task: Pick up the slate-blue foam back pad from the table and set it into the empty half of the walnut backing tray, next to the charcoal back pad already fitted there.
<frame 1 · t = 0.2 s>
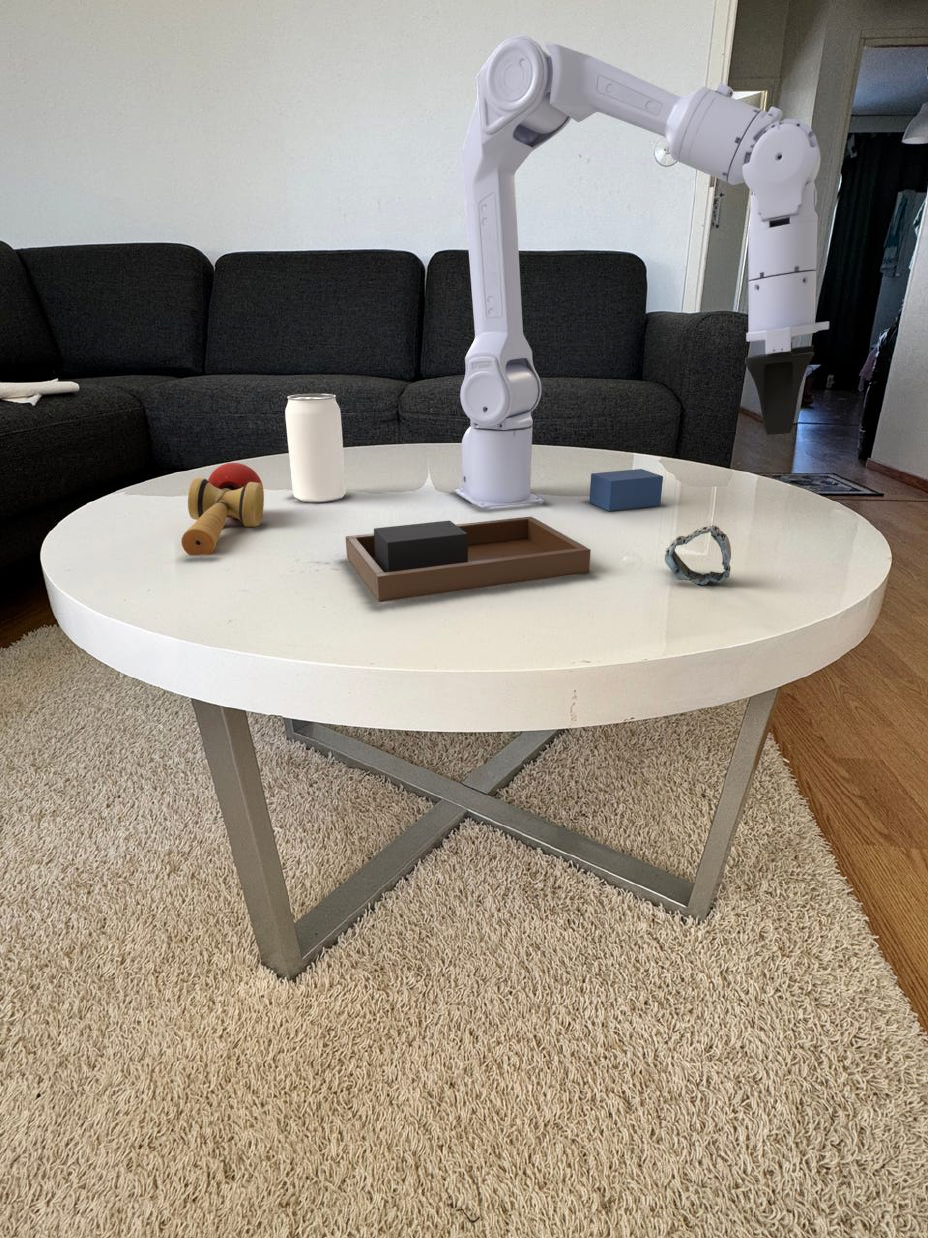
hand: (780, 428, 70), 10 cm above the table, tool pointing down, fingers open, 7 cm apart
can: (320, 498, 89), on the table
kendama: (226, 534, 75), on the table
tray: (464, 569, 64), on the table
pad: (624, 504, 85), on the table
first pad: (421, 569, 62), resting on tray
rough grey ring: (693, 583, 61), on the table
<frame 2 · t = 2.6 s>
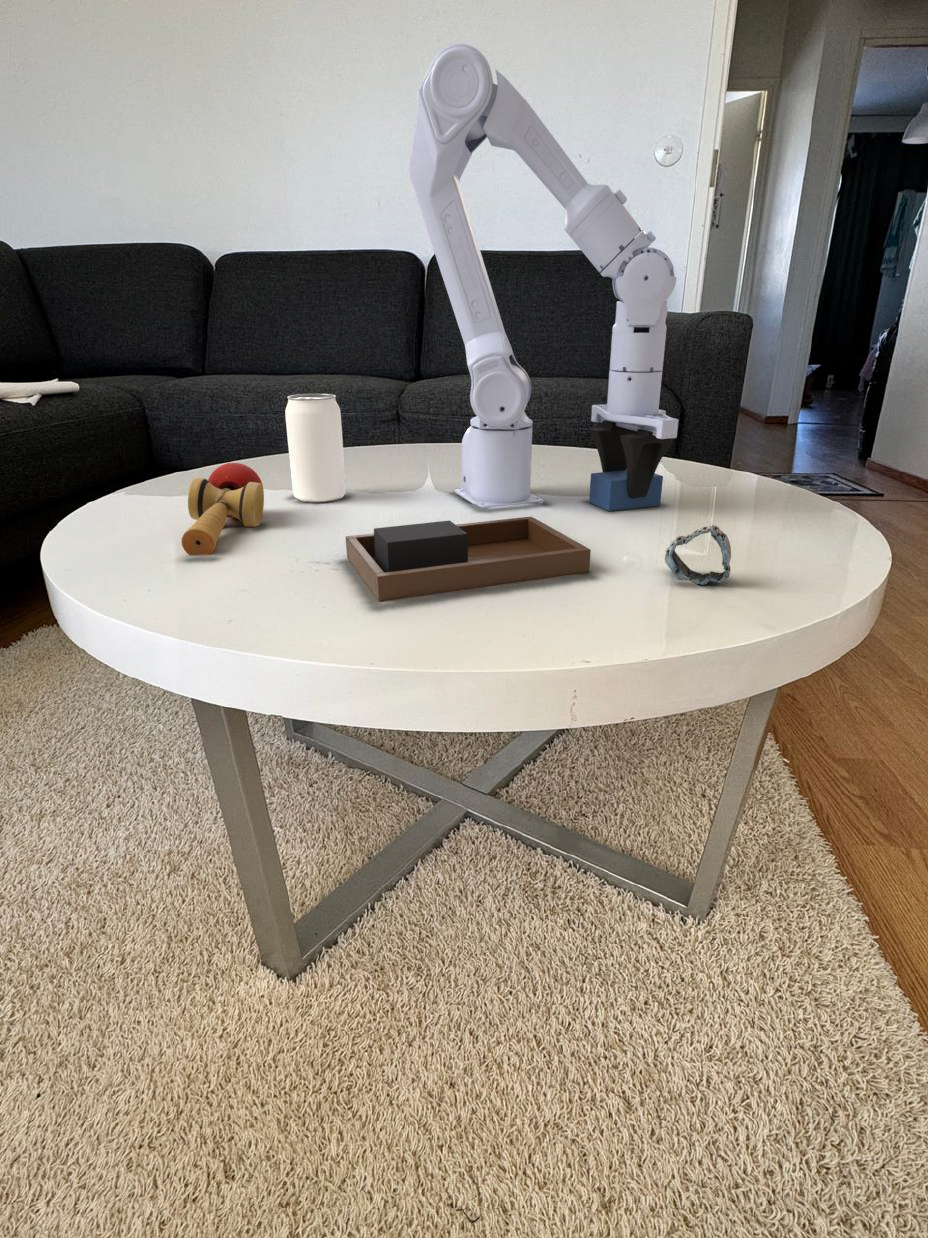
hand: (625, 492, 85), 1 cm above the table, tool pointing down, fingers closed on pad, 4 cm apart
pad: (624, 503, 85), on the table, touching gripper
everything else where it was.
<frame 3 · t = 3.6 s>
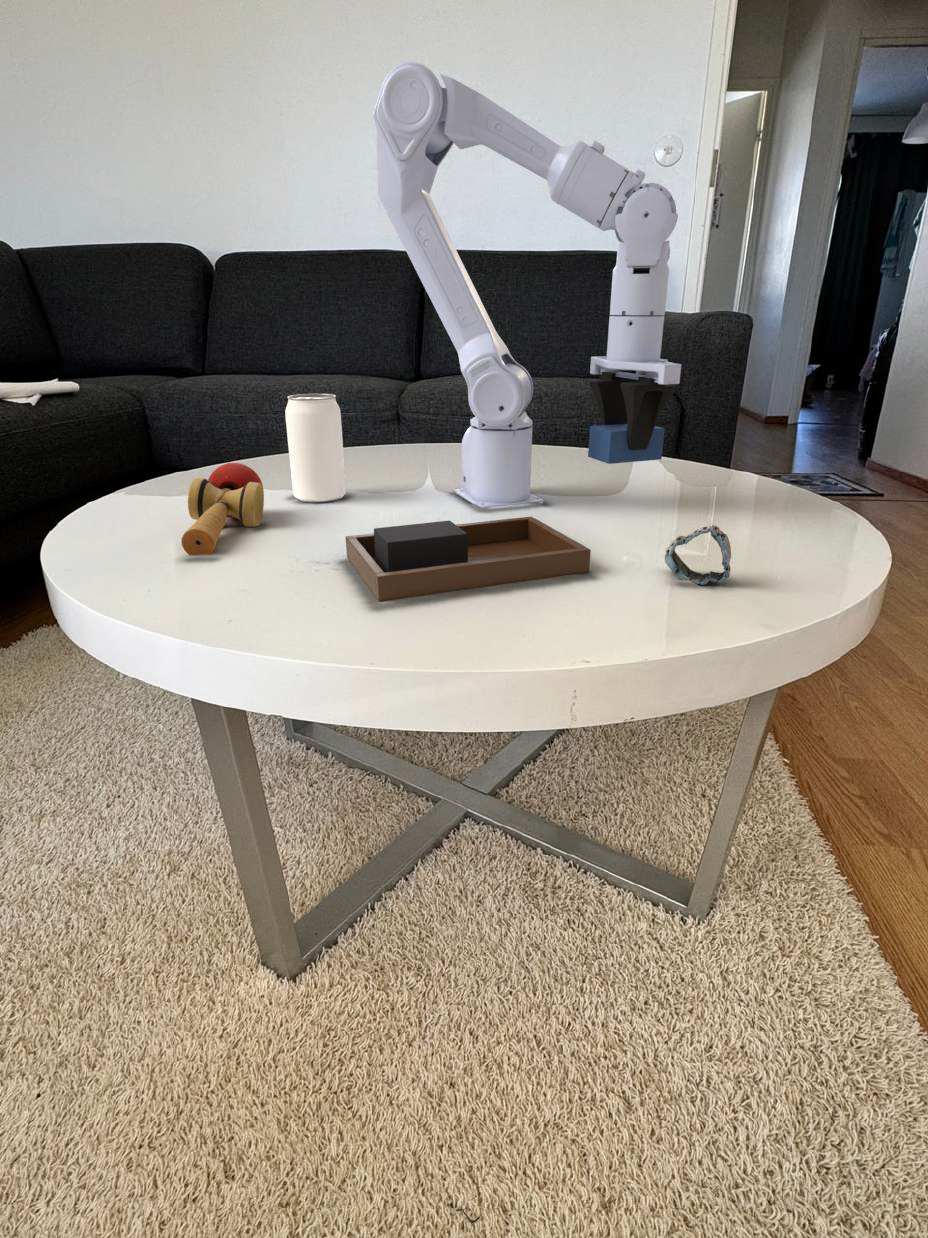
hand: (625, 445, 82), 7 cm above the table, tool pointing down, fingers closed on pad, 4 cm apart
pad: (624, 458, 82), point 6 cm above the table, touching gripper
everything else where it was.
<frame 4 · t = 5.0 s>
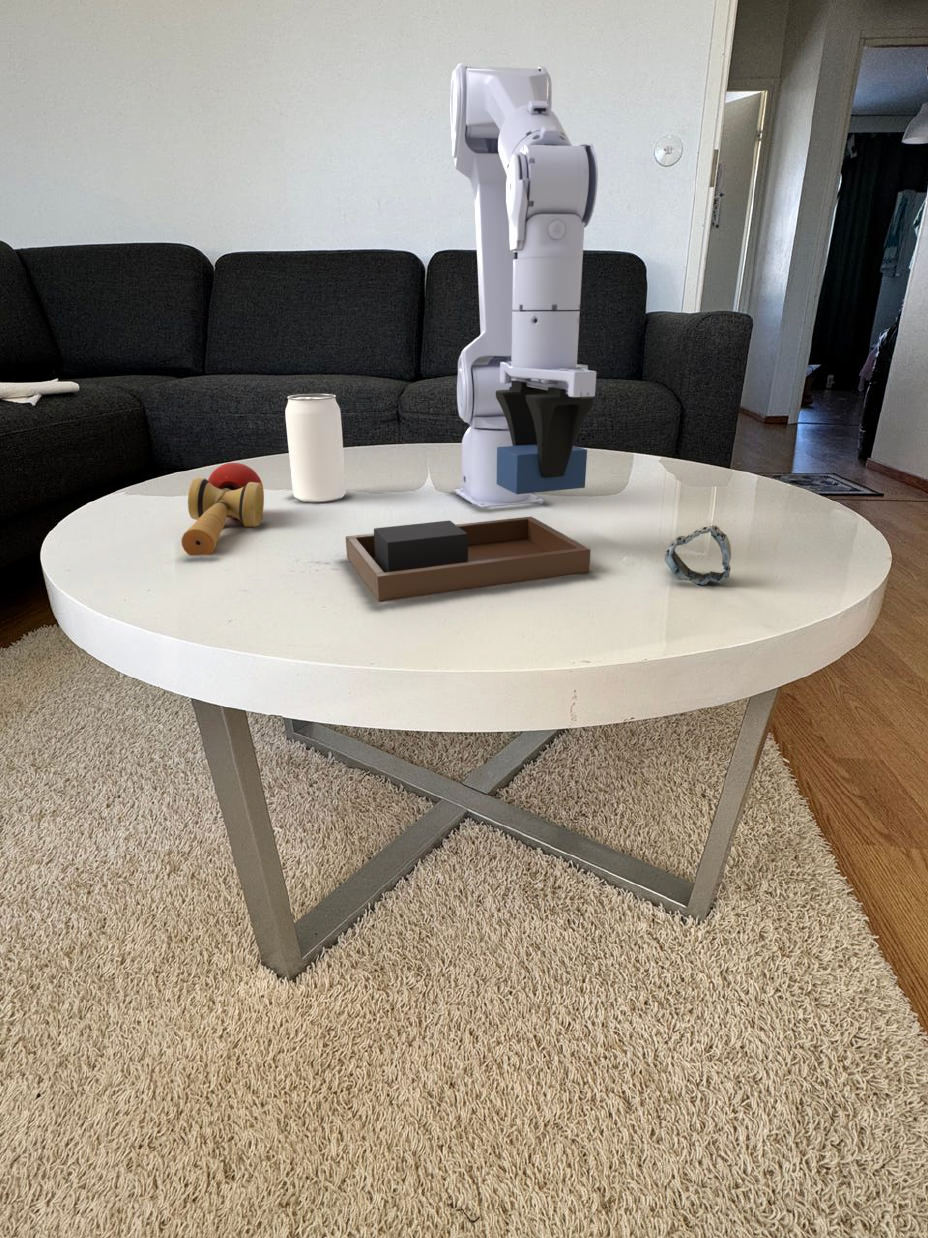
hand: (540, 471, 66), 7 cm above the table, tool pointing down, fingers closed on pad, 4 cm apart
pad: (540, 486, 67), point 6 cm above the table, touching gripper
everything else where it was.
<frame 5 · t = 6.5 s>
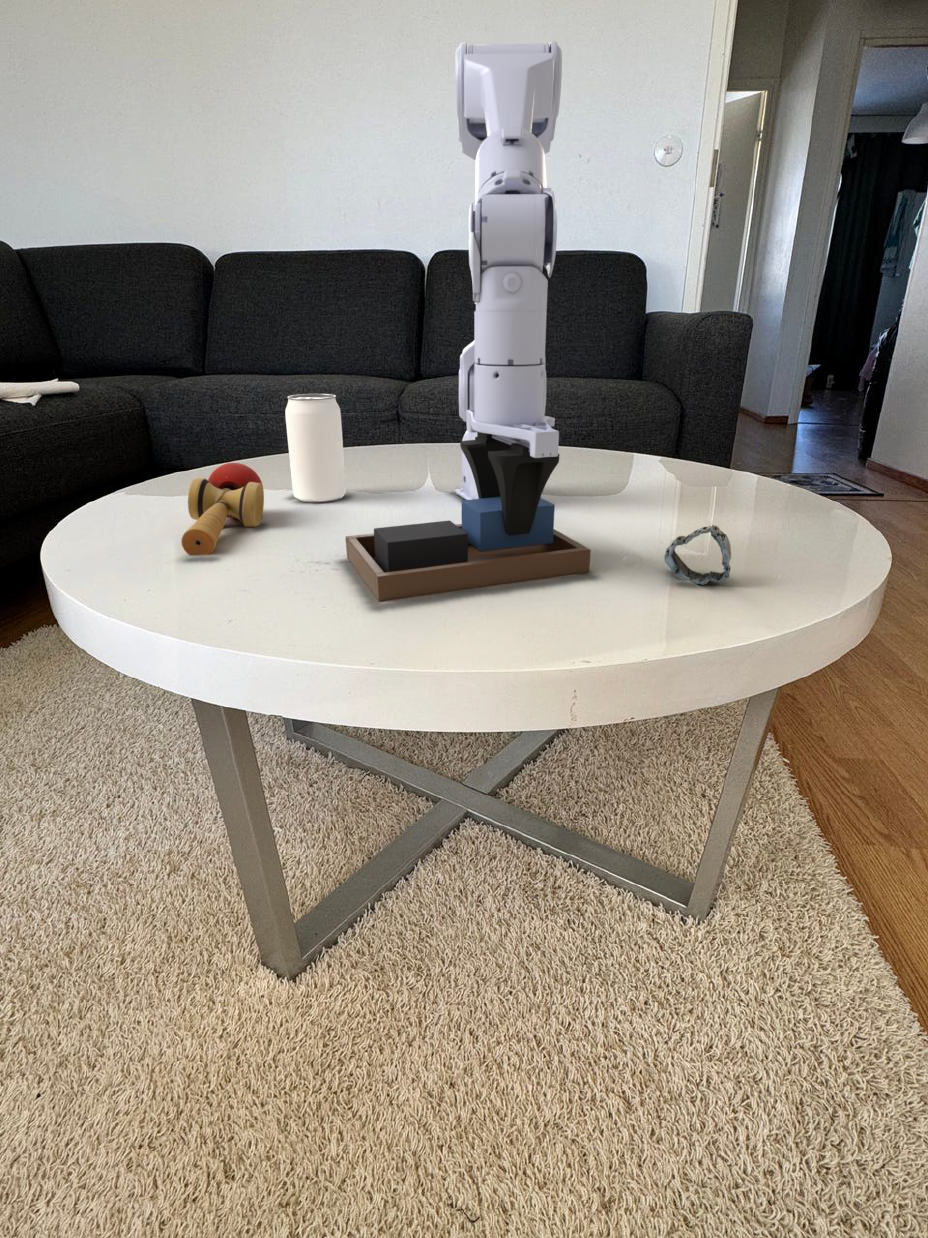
hand: (506, 526, 64), 4 cm above the table, tool pointing down, fingers closed on pad, 4 cm apart
pad: (506, 540, 64), point 2 cm above the table, touching gripper
everything else where it was.
when the fingers open (2 cm above the table, at t = 7.6 s): pad stays where it is, resting on tray.
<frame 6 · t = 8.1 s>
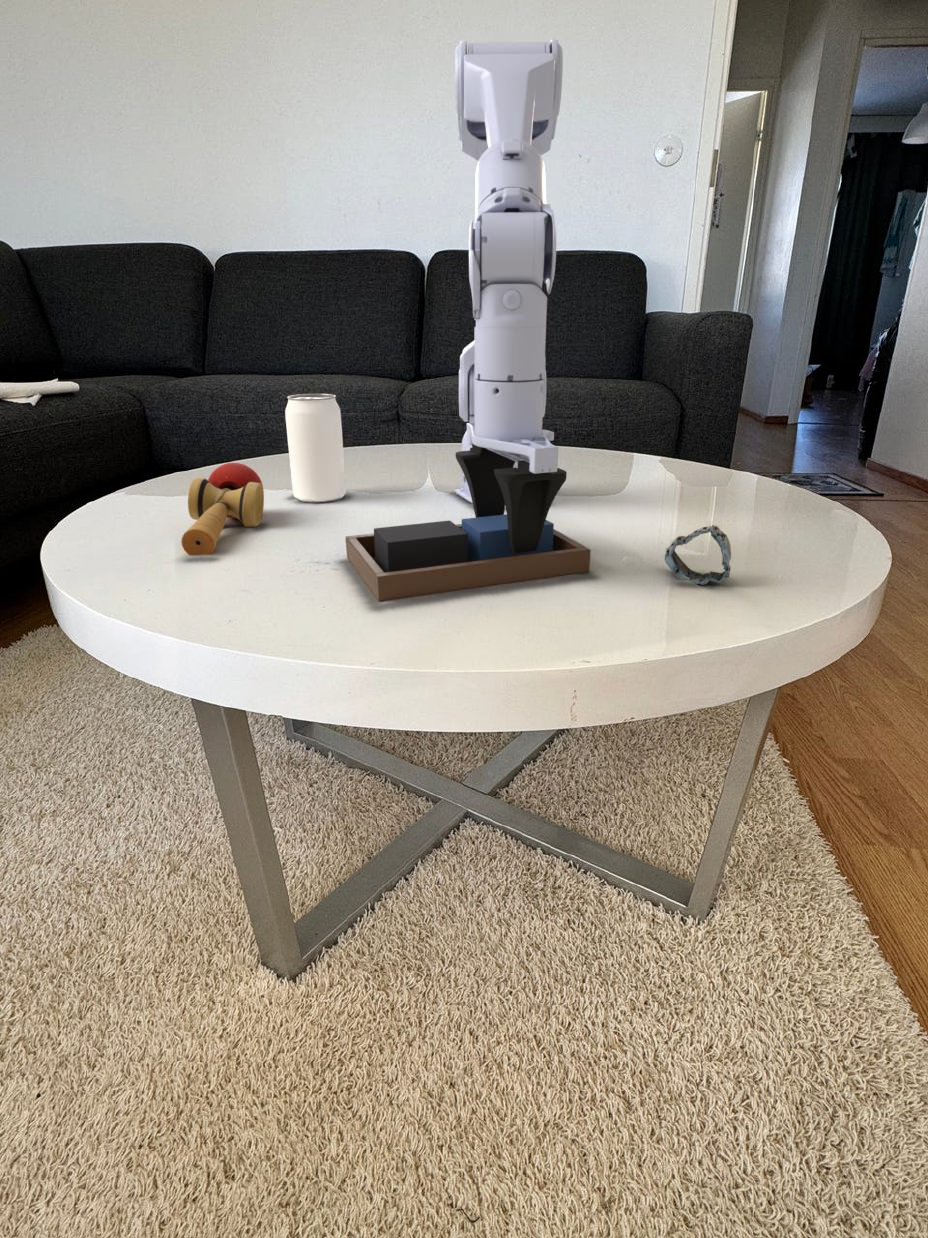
hand: (506, 538, 64), 2 cm above the table, tool pointing down, fingers open, 7 cm apart
pad: (506, 558, 65), resting on tray
everything else where it was.
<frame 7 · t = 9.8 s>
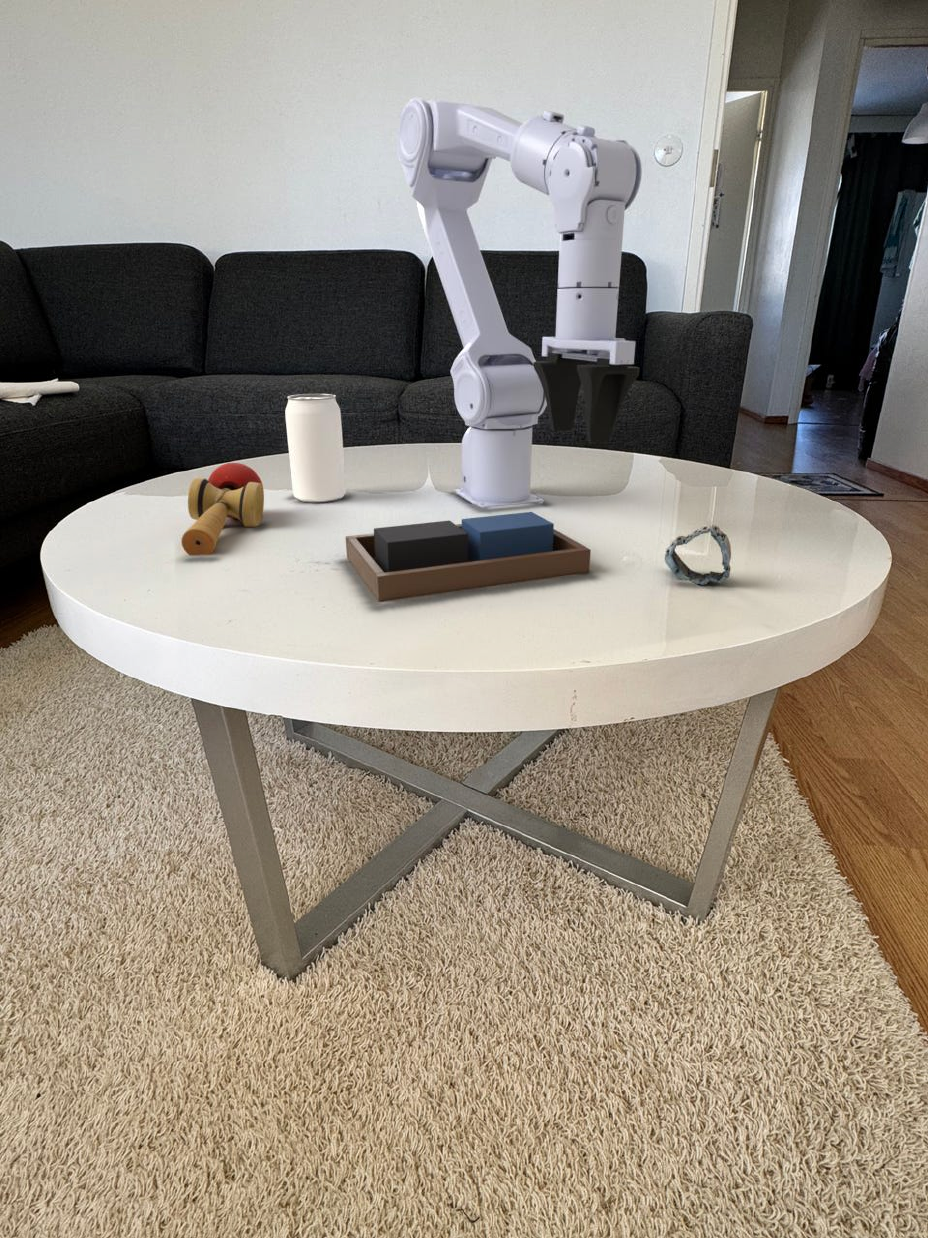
hand: (579, 435, 73), 9 cm above the table, tool pointing down, fingers open, 7 cm apart
nothing on the table moved.
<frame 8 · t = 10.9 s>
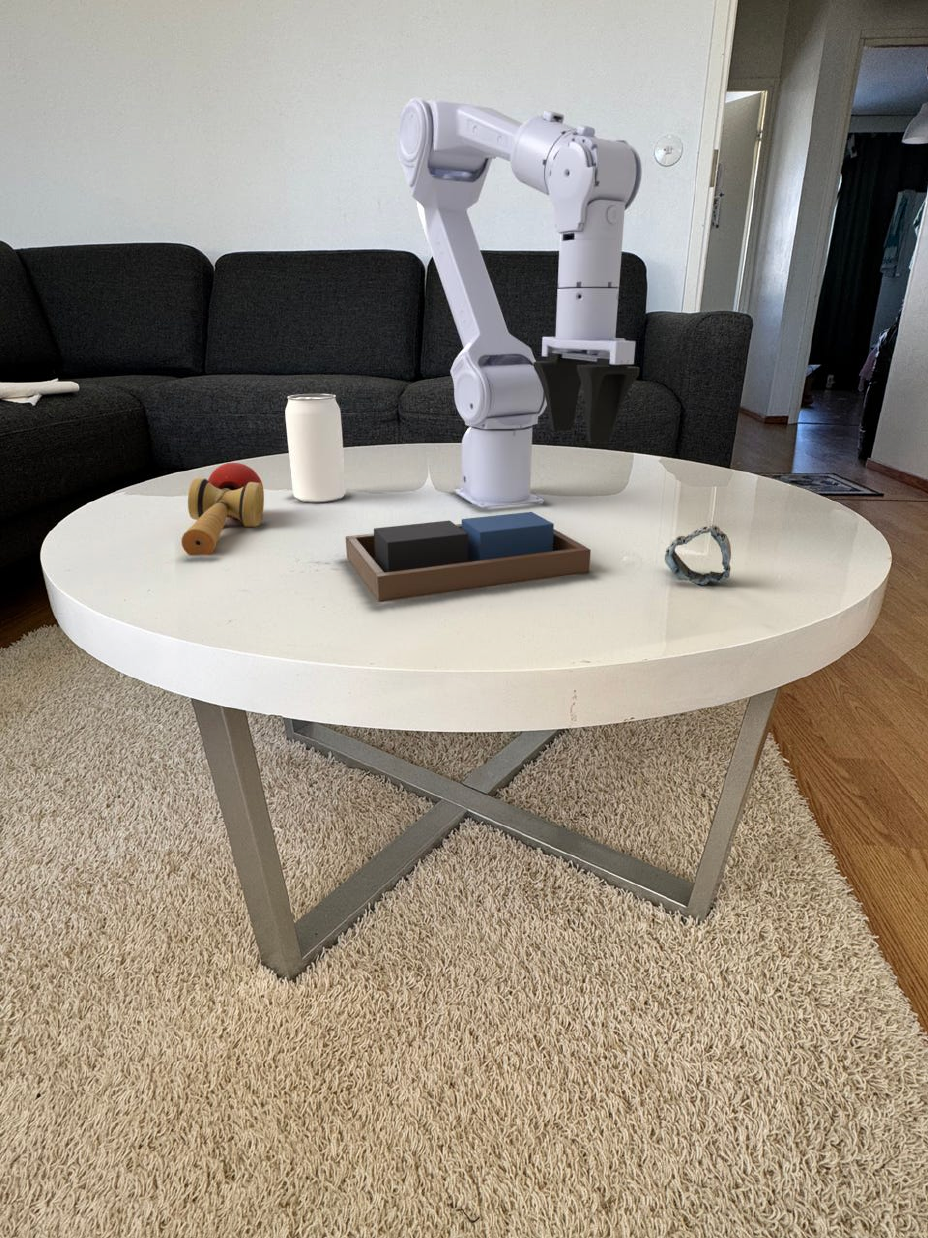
hand: (579, 435, 73), 9 cm above the table, tool pointing down, fingers open, 7 cm apart
nothing on the table moved.
at the end: pad 0.4 cm from the target spot in the tray, point 0.5 cm above the tray's base; pad tilted 0°; pad 8.1 cm from the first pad (horizontally) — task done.
